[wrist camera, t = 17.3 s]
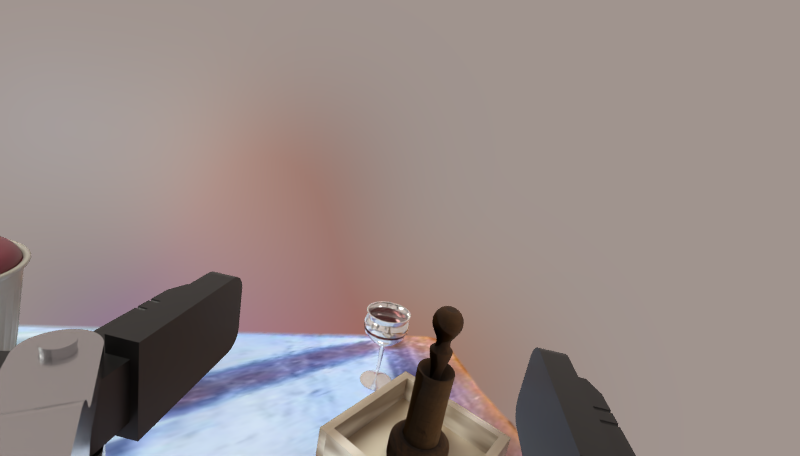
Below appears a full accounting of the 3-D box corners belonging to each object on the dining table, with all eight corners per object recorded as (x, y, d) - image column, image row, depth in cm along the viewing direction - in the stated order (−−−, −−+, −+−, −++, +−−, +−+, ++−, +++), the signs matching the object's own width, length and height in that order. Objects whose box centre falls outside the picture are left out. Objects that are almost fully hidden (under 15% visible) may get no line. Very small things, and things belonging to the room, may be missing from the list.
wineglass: (405, 387, 62) (420, 319, 59) (368, 399, 58) (382, 326, 55) (382, 363, 68) (394, 298, 64) (346, 372, 64) (358, 304, 60)
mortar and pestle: (427, 429, 48) (461, 293, 43) (456, 474, 42) (498, 324, 38) (377, 439, 45) (407, 294, 40) (400, 489, 40) (438, 329, 35)
